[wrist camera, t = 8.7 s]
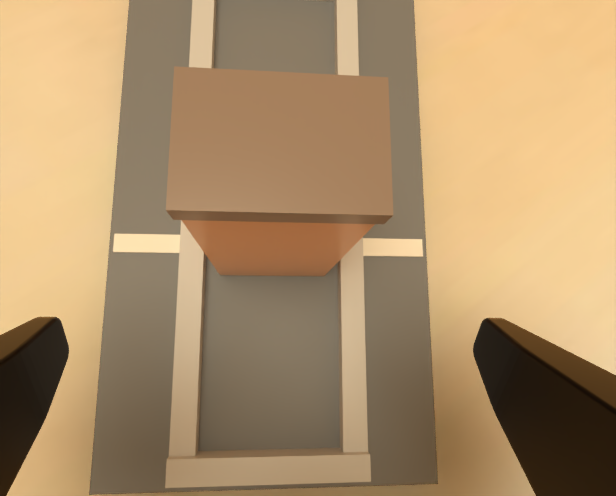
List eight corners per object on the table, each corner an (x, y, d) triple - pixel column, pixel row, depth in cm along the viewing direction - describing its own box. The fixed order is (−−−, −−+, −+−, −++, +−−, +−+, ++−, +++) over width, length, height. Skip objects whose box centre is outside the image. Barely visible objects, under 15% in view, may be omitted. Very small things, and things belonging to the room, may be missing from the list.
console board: (429, 476, 20) (449, 493, 18) (98, 486, 19) (77, 505, 17) (406, -5, 25) (420, -37, 23) (138, -23, 24) (125, -59, 21)
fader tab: (326, 278, 20) (393, 215, 10) (217, 277, 20) (165, 209, 9) (325, 208, 21) (388, 77, 10) (220, 205, 21) (174, 66, 10)
